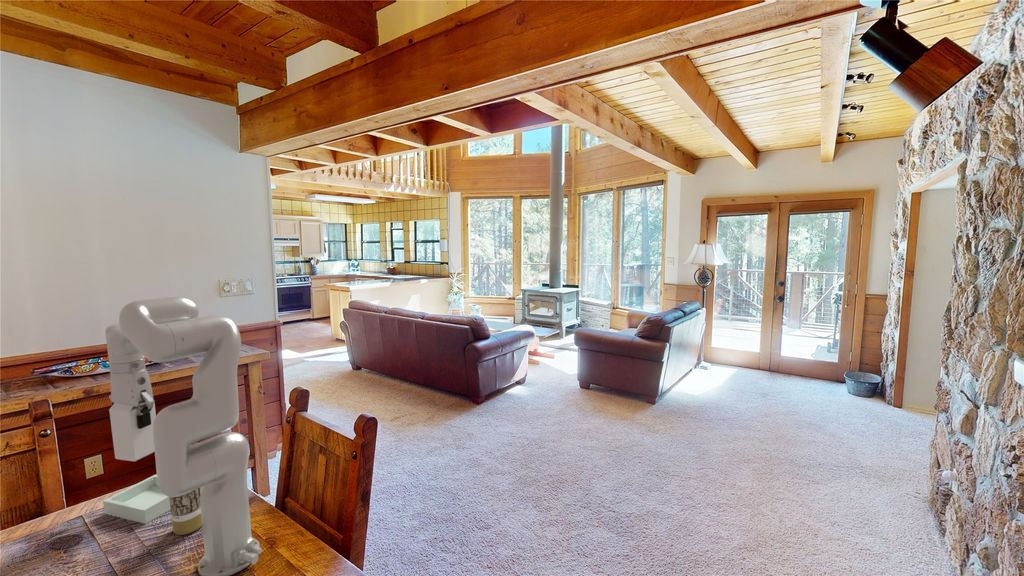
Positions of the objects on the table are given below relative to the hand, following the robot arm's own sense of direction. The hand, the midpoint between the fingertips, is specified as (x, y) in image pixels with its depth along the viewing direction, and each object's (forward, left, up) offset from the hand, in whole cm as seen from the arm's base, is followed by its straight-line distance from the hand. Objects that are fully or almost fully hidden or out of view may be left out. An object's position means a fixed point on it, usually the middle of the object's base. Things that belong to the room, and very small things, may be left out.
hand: (134, 424), depth 124 cm
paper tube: (-24, +5, -24) cm, 35 cm away
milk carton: (0, 0, -9) cm, 9 cm away
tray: (-3, 0, -24) cm, 24 cm away
